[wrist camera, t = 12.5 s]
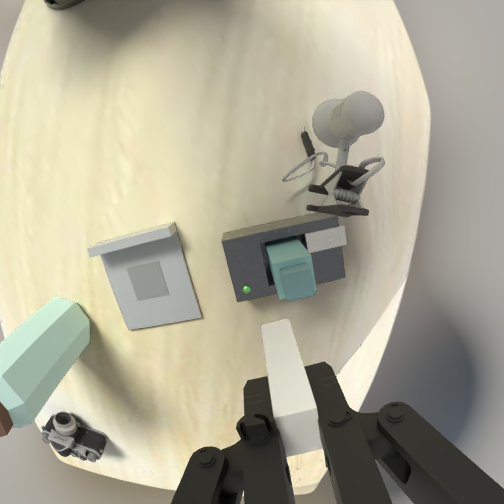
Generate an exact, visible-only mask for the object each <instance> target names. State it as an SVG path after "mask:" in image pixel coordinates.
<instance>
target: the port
mask: <svg viewBox="0 0 504 504" xmlns="http://www.w3.org/2000/svg"><path fill="white" fill-rule="evenodd" d="M291 236H296V237H297V239H298V240H299V241H300V242H301V243H302V245H303V246H304V247H305V248H306V249H307V251H308V252H309V253H310V254H311V257H312V263H313V269H314V275H315V281H316V284H320V283H325V282H329V281H333V280H337V279H341V278H345V270H344V262H343V254H342V246H343V245H347V240H346V232H345V226H344V225H343V226H339V225H338V218H337V216H336V215H332V214H326V213H320V212H318V213H314V214H309V215H304V216H299V217H295V218H290V219H285V220H281V221H276V222H272V223H267V224H262V225H258V226H253V227H249V228H244V229H240V230H235V231H231V232H227V233H224V234H223V238H222V244H223V248H224V252H225V256H226V260H227V264H228V268H229V272H230V276H231V280H232V283H233V287H234V291H235V295H236V299H237V302H241V301H246V300H251V299H255V298H260V297H264V296H269V295H273V294H278V292H277V289H276V286H275V283H274V279H273V276H272V273H271V270H270V265H269V261H268V256H267V252H266V247H265V243H264V242H268V241H273V240H277V239H282V238H286V237H291Z"/></svg>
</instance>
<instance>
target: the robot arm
mask: <svg viewBox="0 0 504 504" xmlns="http://www.w3.org/2000/svg"><path fill="white" fill-rule="evenodd" d="M83 1H84V0H44V2H45V3H46V4H47V5H48V6H49V7H51V8H54V9H64V8H68V7H72V6H74V5H77V4H79V3H81V2H83ZM261 332H262V339H263V346H264V353H265V360H266V367H267V374H268V376H266V377H261V378H257V379H252V380H248V381H247V383H246V385H245V387H244V389H243V390H244V416H243V417H242V418H241V419H240V420H239V421H238V423H237V426H236V429H237V431H238V433H239V435H240V438H241V439H240V441H238V442H237V443H236V444H234V445H232V446H230V447H227V448H225V449H222V450H220V449H218V448H216V447H212V446H211V447H203V448H201V449H198V450H197V451H196V452H194V453H193V455H192V456H191V458H190V460H189V462H188V464H187V467H186V469H185V472H184V474H183V476H182V479H181V481H180V483H179V486H178V488H177V490H176V493H175V495H174V497H173V500H172V503H171V504H240V501H241V498H242V494H243V491H244V501H245V504H295V500H294V494H293V488H292V482H291V476H290V471H289V466H288V463H287V458H286V457H288V456H292V455H297V454H302V453H306V452H310V451H314V450H318V449H322V448H323V450H324V455H325V462H326V467H327V468H328V472H329V475H330V479H331V483H332V486H333V490H334V494H335V498H336V501H337V504H392V502H391V499H390V497H389V494H388V492H387V489H386V487H385V484H384V482H383V480H382V477H381V474H380V472H379V469H378V467H377V464H376V462H375V460H374V459H376V460H377V461H378V462H379V463H380V464H381V466H382V467H383V468H384V469H385V470H386V472H387V473H388V474H389V475H390V476H391V477H392V479H393V480H394V481H395V482H396V483H397V485H398V486H399V487H400V488H401V489H402V490H403V491H404V493H405V494H406V495H407V496H408V497H409V498H410V499H411V501H412V502H413V503H414V504H504V489H503V488H502V487H501V486H500V485H499V484H498V483H496V482H495V481H494V480H493V479H492V478H490V477H489V476H488V475H487V474H486V473H485V472H483V470H481V469H480V468H479V467H478V466H477V465H476V464H475V463H473V462H472V461H471V460H470V459H469V458H468V457H467V456H465V455H464V454H463V453H462V452H461V451H460V450H458V449H457V448H456V447H455V446H454V445H453V444H452V443H451V442H450V441H448V440H447V439H446V438H445V437H444V436H443V435H442V434H441V433H439V432H438V431H437V430H436V429H435V428H434V427H433V426H431V425H430V424H429V423H428V422H427V421H426V420H425V419H424V418H422V417H421V416H420V415H419V414H418V413H417V412H416V411H415V410H414V409H412V408H411V407H410V406H409V405H407V404H405V403H402V402H392V403H389V404H387V405H385V406H384V407H382V408H381V409H380V411H379V412H377V413H359V412H356V411H354V410H352V409H351V408H350V407H349V405H348V404H347V401H346V399H345V397H344V394H343V392H342V390H341V387H340V385H339V383H338V380H337V378H336V376H335V374H334V371H333V369H332V367H331V366H330V365H328V364H327V363H326V362H321V363H317V364H313V365H309V366H305V367H304V365H303V362H302V359H301V355H300V352H299V349H298V346H297V343H296V340H295V337H294V334H293V330H292V327H291V324H290V321H289V318H287V319H283V320H279V321H275V322H271V323H267V324H262V325H261Z"/></svg>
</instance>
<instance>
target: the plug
mask: <svg viewBox="0 0 504 504" xmlns="http://www.w3.org/2000/svg"><path fill="white" fill-rule="evenodd" d="M264 243H265V247H266V252H267V256H268V261H269V265H270V270H271V273H272V276H273V279H274V283H275V286H276V289H277V292H278V296H279V299H280V300H282V299H287V302H288V301H293V300H297V299H301V298H305V297H309V296H313V295H315V291H317V287H316V281H315V275H314V269H313V263H312V257H311V254H310V253H309V252H308V251H307V249H306V248H305V247H304V246H303V245H302V243H301V242H300V241H299V240H298V239H297V237H296V236H291V237H286V238H282V239H277V240H273V241H268V242H264Z"/></svg>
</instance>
